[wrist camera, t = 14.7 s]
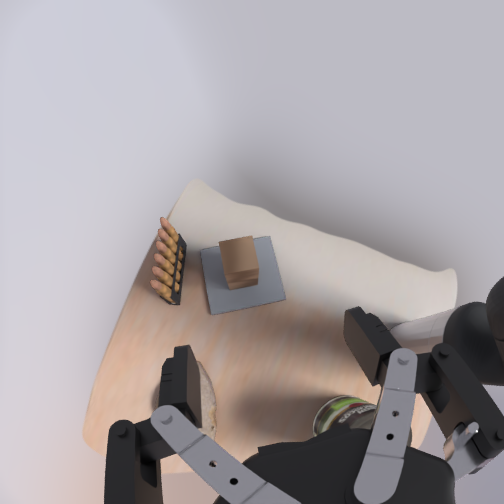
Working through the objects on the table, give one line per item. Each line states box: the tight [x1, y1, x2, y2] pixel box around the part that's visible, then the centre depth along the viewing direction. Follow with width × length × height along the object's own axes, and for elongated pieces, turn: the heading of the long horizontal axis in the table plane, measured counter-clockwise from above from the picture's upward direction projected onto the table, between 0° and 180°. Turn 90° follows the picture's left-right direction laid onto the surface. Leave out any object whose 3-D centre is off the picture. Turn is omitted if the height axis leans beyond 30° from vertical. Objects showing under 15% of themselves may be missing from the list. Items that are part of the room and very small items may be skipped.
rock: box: [156, 361, 217, 440], centre depth 38 cm, size 15×4×10 cm
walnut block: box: [219, 236, 259, 290], centre depth 41 cm, size 4×4×10 cm
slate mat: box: [200, 236, 286, 315], centre depth 46 cm, size 12×11×1 cm
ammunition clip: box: [150, 217, 187, 305], centre depth 41 cm, size 11×2×12 cm, turn 178°
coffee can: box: [313, 396, 412, 446], centre depth 31 cm, size 10×10×14 cm
